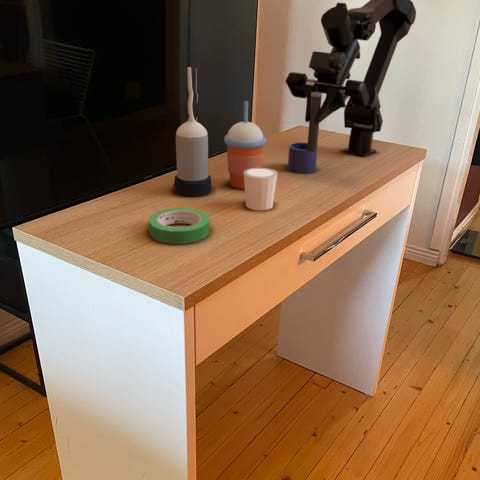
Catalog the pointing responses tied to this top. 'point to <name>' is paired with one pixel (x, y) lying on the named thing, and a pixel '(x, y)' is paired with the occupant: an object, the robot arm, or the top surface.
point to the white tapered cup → (259, 188)
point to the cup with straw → (243, 149)
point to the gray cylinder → (312, 125)
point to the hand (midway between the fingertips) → (311, 122)
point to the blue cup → (301, 158)
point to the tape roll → (179, 234)
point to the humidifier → (192, 154)
